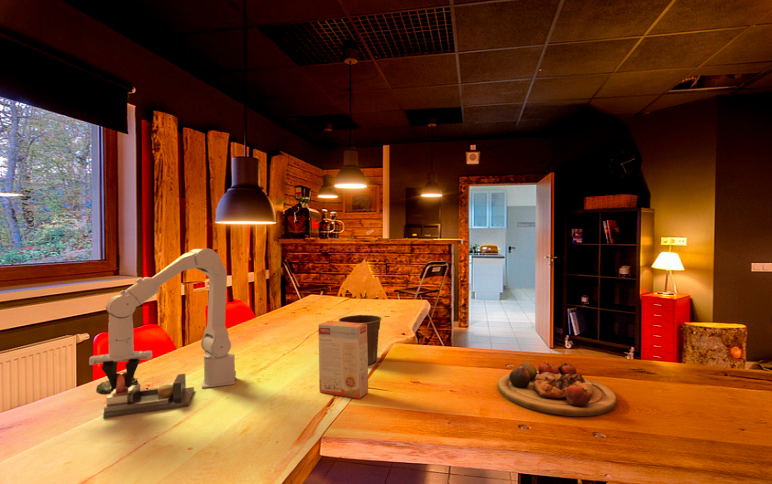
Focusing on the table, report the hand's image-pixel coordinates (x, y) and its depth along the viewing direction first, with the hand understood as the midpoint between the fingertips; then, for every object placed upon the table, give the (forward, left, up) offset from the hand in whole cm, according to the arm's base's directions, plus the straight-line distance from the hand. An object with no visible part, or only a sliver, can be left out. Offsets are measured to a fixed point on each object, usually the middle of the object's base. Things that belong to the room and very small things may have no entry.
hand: (121, 387), depth 109 cm
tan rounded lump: (-11, 0, -4) cm, 12 cm away
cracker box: (-60, +12, -6) cm, 62 cm away
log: (+6, -19, -6) cm, 21 cm away
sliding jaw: (-1, 0, -4) cm, 4 cm away
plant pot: (-73, -16, -6) cm, 75 cm away
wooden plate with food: (-118, +35, -6) cm, 123 cm away
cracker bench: (-7, 0, -6) cm, 9 cm away
